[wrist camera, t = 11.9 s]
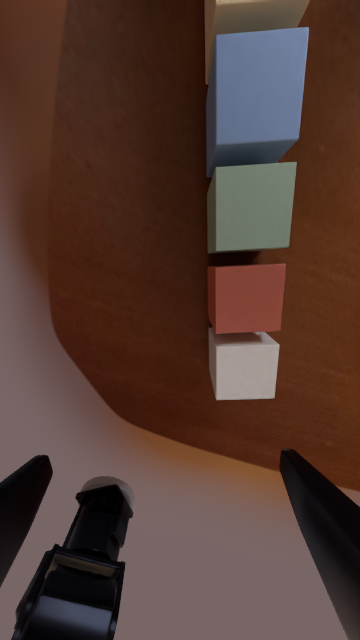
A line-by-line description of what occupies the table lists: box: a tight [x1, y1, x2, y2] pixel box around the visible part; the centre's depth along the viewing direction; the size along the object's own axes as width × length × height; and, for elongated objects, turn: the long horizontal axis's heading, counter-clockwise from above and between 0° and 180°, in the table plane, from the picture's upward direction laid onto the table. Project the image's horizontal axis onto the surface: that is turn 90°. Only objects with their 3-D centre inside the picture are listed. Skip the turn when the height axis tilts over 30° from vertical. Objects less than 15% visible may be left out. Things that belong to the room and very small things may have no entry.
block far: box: [209, 327, 279, 400], centre depth 17 cm, size 4×4×4 cm
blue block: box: [206, 27, 309, 177], centre depth 12 cm, size 4×4×4 cm
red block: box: [207, 263, 286, 334], centre depth 16 cm, size 4×4×4 cm
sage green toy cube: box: [207, 162, 297, 254], centre depth 14 cm, size 4×4×4 cm
